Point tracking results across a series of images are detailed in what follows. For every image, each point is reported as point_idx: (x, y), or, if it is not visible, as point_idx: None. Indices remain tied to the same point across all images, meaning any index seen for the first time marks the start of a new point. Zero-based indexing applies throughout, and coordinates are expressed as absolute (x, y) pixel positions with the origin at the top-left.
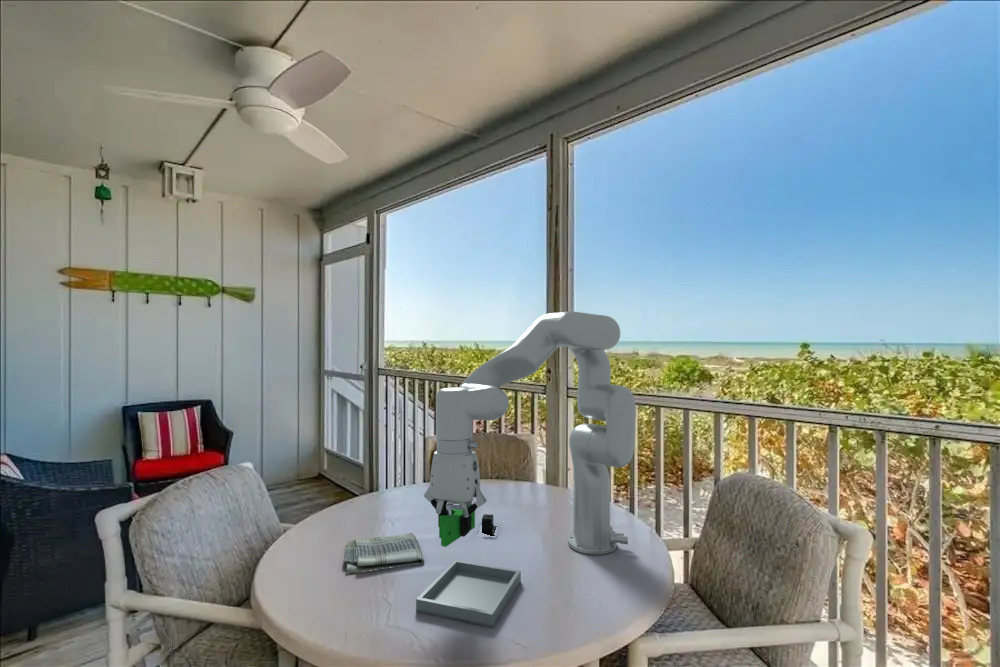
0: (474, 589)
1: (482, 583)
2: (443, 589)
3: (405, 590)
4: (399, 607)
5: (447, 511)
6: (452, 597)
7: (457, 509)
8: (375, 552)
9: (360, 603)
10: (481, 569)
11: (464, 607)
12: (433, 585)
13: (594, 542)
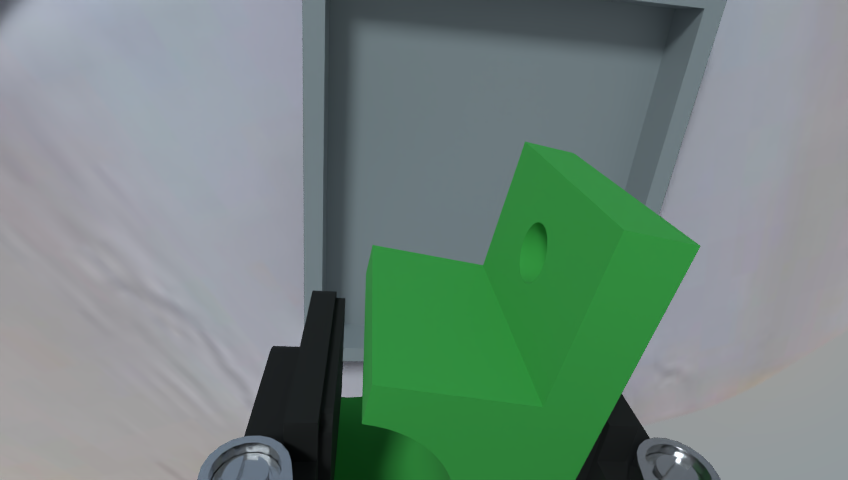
0: (485, 144)
1: (510, 79)
2: (346, 182)
3: (172, 211)
4: (233, 322)
5: (323, 446)
6: (410, 230)
7: (451, 400)
8: None
9: (67, 340)
10: None
11: None
12: (321, 255)
13: None
